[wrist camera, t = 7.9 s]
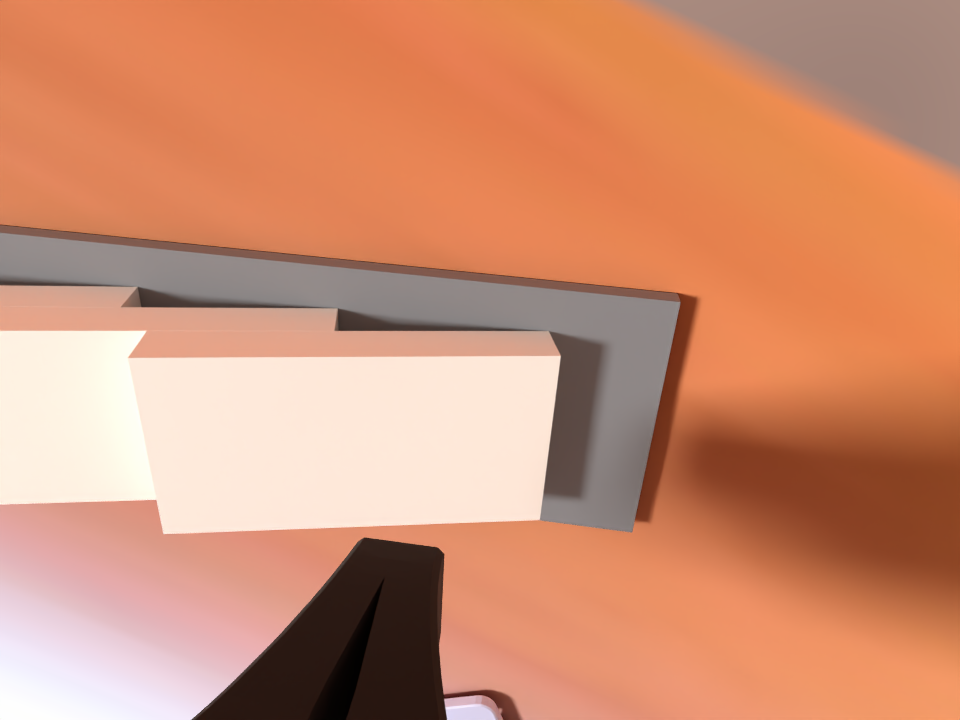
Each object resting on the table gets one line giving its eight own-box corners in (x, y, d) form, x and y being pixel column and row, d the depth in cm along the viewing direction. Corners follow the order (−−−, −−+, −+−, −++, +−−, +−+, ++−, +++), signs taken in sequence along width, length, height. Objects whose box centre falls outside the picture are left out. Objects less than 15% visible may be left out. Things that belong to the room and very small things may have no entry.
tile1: (561, 355, 14) (127, 357, 13) (539, 520, 16) (163, 534, 15) (548, 330, 15) (146, 330, 14) (530, 487, 17) (177, 499, 16)
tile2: (334, 331, 15) (-105, 330, 14) (341, 494, 17) (-40, 505, 16) (337, 308, 16) (-70, 306, 15) (344, 464, 18) (-13, 473, 17)
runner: (677, 293, 15) (680, 302, 15) (631, 519, 18) (632, 532, 18) (-277, 197, 17) (-300, 202, 17) (-178, 415, 20) (-195, 424, 20)
